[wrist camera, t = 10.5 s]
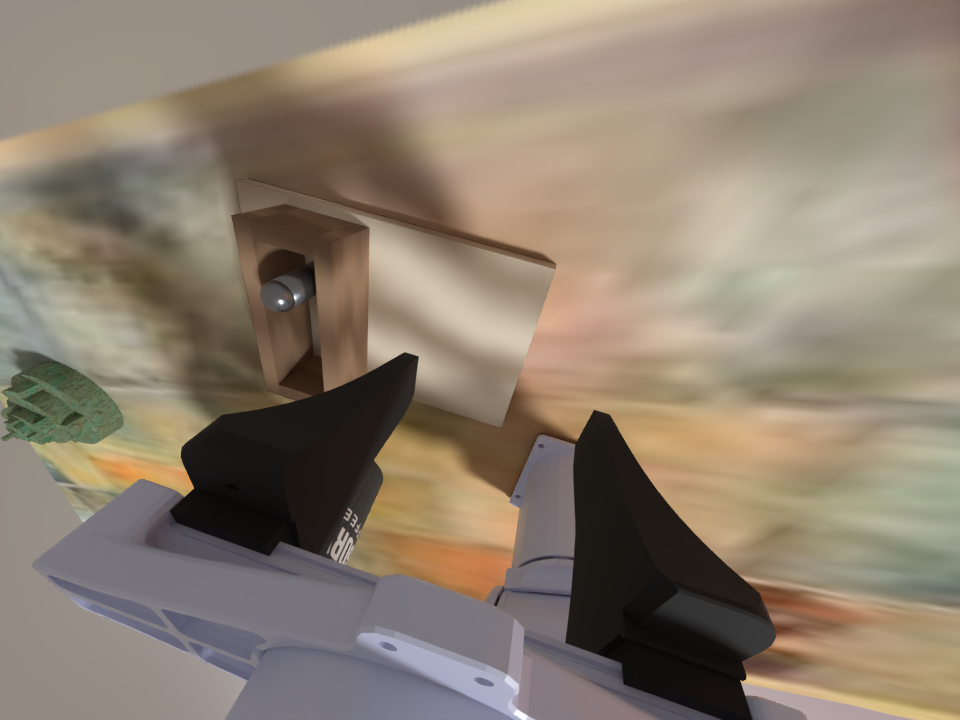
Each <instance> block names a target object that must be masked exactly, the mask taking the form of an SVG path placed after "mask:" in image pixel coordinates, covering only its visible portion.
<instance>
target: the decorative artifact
mask: <svg viewBox="0 0 960 720" xmlns="http://www.w3.org/2000/svg"><path fill="white" fill-rule="evenodd" d="M11 384H12V387H10V388H8V389H6V390H3V391H1V393H3V394H4V395H5V396H6V397H8V398H9V399H8V400H7V404H8V408H5V409H3V410H2V411H1V415H2V416H3V417H4V418H6V419H8V421H6V422H4V424H6V429H7V430H8V431H9V432H10V433H9V434H8V435H6V436H4V437H2V438H1V439H2V440H3V441H7V440H8V439H10V438H12V437H15V438H17V439H22V440H27V441H28V442H31V441H33V442H36V443H38V444H42V445H43V444H45V443H46V442H48V443H50V442H52V441H54V442H57V443H66V442H68V441H69V440H72V441H74V442H77V441H79V442H82V443H87V444H95V443H98V442H99V441H101V440H102V439H104V438H106V437H107V436H109V435H110V434H112V433H113V432H115V431H117V430H118V429H120V428H121V427H122V426H123V422H124V421H123V416H122V414H121V412H120V410H119V408H118V407H117V405H116V404H115V402H114V401H113V400H112V399H111V398H110V397H109V395H108V394H107V393H106V392H105V391H103V390H102V389H101V388H100V387H99V386H98V385H97V384H95V383H94V382H93V381H91V380H90V379H89V378H87V377H86V376H84V375H83V374H81V373H79V372H78V371H76V370H74V369H72V368H70V367H68V366H65V365H62V364H59V363H54V362H46V363H43V364H41V365H39V366H36V367H34V368H31V369H29V370H27V371H24V372H22V373H19V374H17V375H15V376H13V377H12V379H11Z"/></svg>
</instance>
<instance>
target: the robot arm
mask: <svg viewBox="0 0 960 720" xmlns="http://www.w3.org/2000/svg"><path fill="white" fill-rule="evenodd" d="M418 360H419V356H416V355H413V354H409V353H406V352H404V353H402V354H400V355H398V356H397V357H395V358H393V359H392V360H390V361H388V362H386V363H385V364H383V365H381V366H379V367H378V368H376V369H374V370H372V371H370V372H368V373H366V374H365V375H363V376H361V377H359V378H356V379H354V380H352V381H350V382H348V383H346V384H344V385H341V386H339V387H337V388H334V389H331V390H329V391H326V392H323V393H321V394H318V395H314V396H311V397H308V398H304V399H301V400H298V401H294V402H291V403H287V404H282V405H278V406H274V407H269V408H264V409H259V410H253V411H247V412H240V413H234V414H227V415H222V416H220V417H219V418H218V419H216V420H215V421H214V422H212V423H211V424H210V425H209V426H207V427H206V428H205V429H203V430H202V431H201V432H200V433H198V434H197V435H196V436H194V437H193V438H192V439H191V440H189V441H188V442H187V443H186V444H185V445H184V446H183V447H182V450H181V458H182V462H183V465H184V467H185V469H186V471H187V473H188V475H189V478H190V480H191V482H192V484H193V486H194V489H193V490H192V491H191V492H190V493H189V494H188V495H187V496H185V497H184V496H183V495H181V494H180V493H179V492H177V491H175V490H173V489H170V488H168V487H165V486H162V485H159V484H156V483H153V482H151V481H148V480H145V479H139V480H138V481H137V482H135V483H134V484H133V485H131V486H130V487H129V488H128V489H126V490H125V491H124V492H122V493H121V494H120V495H119V496H117V497H116V498H115V499H113V500H112V501H111V502H110V503H108V504H107V505H106V506H104V507H103V508H102V509H101V510H99V511H98V512H97V513H95V514H94V515H93V516H92V517H90V518H89V519H88V520H86V521H85V522H84V523H83V524H81V525H80V526H79V527H77V528H76V529H75V530H74V531H72V532H71V533H70V534H68V535H67V536H66V537H65V538H63V539H62V540H61V541H59V542H58V543H57V544H56V545H54V546H53V547H52V548H50V549H49V550H48V551H47V552H45V553H44V554H43V555H41V556H40V557H39V558H38V559H36V560H35V561H34V562H33V564H32V567H33V568H34V569H35V570H37V571H38V572H39V573H40V574H41V575H43V576H44V577H45V578H46V579H47V580H48V581H49V582H51V583H52V584H53V585H54V586H55V587H57V588H58V589H59V590H60V591H61V592H63V593H64V594H65V595H66V596H67V597H68V598H69V599H71V600H72V601H73V602H74V603H76V604H77V605H78V606H79V607H81V608H83V609H85V610H87V611H90V612H92V613H95V614H97V615H100V616H102V617H105V618H107V619H110V620H112V621H115V622H117V623H119V624H122V625H124V626H126V627H129V628H131V629H133V630H136V631H138V632H140V633H143V634H145V635H147V636H149V637H151V638H153V639H156V640H158V641H160V642H162V643H164V644H167V645H169V646H171V647H173V648H175V649H177V650H180V651H182V652H184V653H186V654H189V655H190V656H193V657H195V658H197V659H199V660H201V661H203V662H205V663H208V664H210V665H212V666H214V667H216V668H218V669H221V670H223V671H225V672H227V673H229V674H231V675H233V676H235V677H238V678H240V679H242V680H244V681H246V682H247V683H246V685H245V686H244V688H243V690H242V691H241V693H240V695H239V696H238V698H237V700H236V702H235V703H234V705H233V706H232V708H231V710H230V711H229V713H228V715H227V716H226V718H225V720H807V717H806V715H805V714H803V713H802V712H801V711H799V710H796V709H793V708H790V707H787V706H784V705H781V704H779V703H776V702H773V701H770V700H767V699H765V698H761V697H757V696H745V694H744V691H743V688H742V685H741V681H744V680H746V673H745V670H744V667H743V664H742V661H743V660H745V659H747V658H750V657H752V656H754V655H756V654H758V653H760V652H762V651H764V650H766V649H767V648H769V647H770V646H771V645H772V644H773V642H774V640H775V638H776V632H775V628H774V626H773V624H772V621H771V619H770V617H769V614H768V612H767V609H766V607H765V605H764V602H763V600H762V598H761V596H760V594H759V592H757V591H756V590H755V589H754V588H753V587H752V586H750V585H749V584H748V583H747V582H746V581H745V580H744V579H742V578H741V577H740V576H739V575H738V574H737V573H735V572H734V571H733V570H732V569H731V568H730V567H729V566H727V565H726V564H725V563H724V562H723V561H722V560H721V559H720V558H719V557H718V556H717V555H716V554H715V553H714V552H713V551H711V550H710V549H709V548H708V547H707V546H706V545H705V544H704V543H703V542H702V541H701V540H700V539H699V538H698V537H697V536H696V535H695V534H694V533H693V531H692V530H691V529H690V528H689V527H688V526H687V525H686V524H685V523H684V522H683V521H682V519H681V518H680V517H679V516H678V515H677V514H676V513H675V511H674V510H673V509H672V508H671V507H670V506H669V504H668V503H667V502H666V501H665V499H664V498H663V497H662V496H661V494H660V493H659V492H658V491H657V489H656V488H655V486H654V485H653V484H652V482H651V481H650V480H649V478H648V477H647V475H646V474H645V472H644V471H643V469H642V468H641V466H640V465H639V463H638V462H637V460H636V459H635V457H634V455H633V454H632V452H631V450H630V449H629V447H628V445H627V444H626V442H625V440H624V439H623V437H622V435H621V433H620V432H619V430H618V428H617V426H616V425H615V423H614V421H613V419H612V418H611V416H610V415H609V414H606V413H603V412H599V411H596V410H594V411H593V413H592V415H591V417H590V419H589V420H588V422H587V424H586V426H585V428H584V430H583V431H582V433H581V435H580V437H579V439H578V441H577V443H576V444H572V443H569V442H566V441H563V440H560V439H557V438H553V437H550V436H547V435H539V436H538V437H537V439H536V441H535V444H534V446H533V448H532V450H531V453H530V455H529V457H528V459H527V462H526V464H525V466H524V469H523V471H522V473H521V475H520V478H519V480H518V482H517V485H516V487H515V489H514V491H513V494H512V496H511V498H510V503H511V504H512V505H513V506H516V507H519V508H520V509H519V517H518V524H517V531H516V538H515V545H514V553H513V560H512V568H508V569H507V572H506V579H505V585H504V586H501V585H498V586H495V587H494V588H493V589H492V590H491V592H490V593H489V595H488V597H487V598H486V599H485V600H484V602H482V601H480V600H477V599H474V598H471V597H468V596H466V595H463V594H460V593H457V592H454V591H451V590H449V589H446V588H443V587H440V586H437V585H434V584H432V583H429V582H426V581H423V580H420V579H418V578H414V577H410V576H405V575H401V574H394V575H386V576H383V577H378V576H376V575H373V574H370V573H367V572H364V571H362V570H359V569H356V568H353V567H350V566H348V565H345V564H342V563H339V562H336V561H334V560H331V559H328V558H325V555H326V553H327V551H328V549H329V547H330V545H331V542H332V540H333V538H334V536H335V534H336V532H337V530H338V528H339V526H340V524H341V522H342V520H343V517H344V515H345V513H346V511H347V509H348V507H349V505H350V503H351V501H352V500H353V498H354V496H355V494H356V492H357V490H358V488H359V486H360V484H361V482H362V480H363V478H364V477H365V475H366V473H367V471H368V469H369V467H370V465H371V464H372V462H373V461H374V459H375V457H376V456H377V454H378V453H379V451H380V450H381V448H382V447H383V445H384V444H385V442H386V441H387V440H388V438H389V437H390V435H391V434H392V432H393V431H394V429H395V428H396V426H397V425H398V423H399V422H400V420H401V419H402V417H403V416H404V414H405V412H406V410H407V408H408V406H409V404H410V402H411V400H412V398H413V396H414V392H415V384H416V376H417V368H418ZM539 444H543V445H539ZM740 680H741V681H740Z"/></svg>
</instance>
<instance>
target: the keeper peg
mask: <svg viewBox="0 0 960 720" xmlns="http://www.w3.org/2000/svg"><path fill="white" fill-rule="evenodd" d="M316 295H317V292H316V279H315V266H314V261H312V262H310V263H307V264H305V265H303V266H301V267H299V268H296V269H294V270H292V271H290V272H288V273H285V274H283V275H281V276H279V277H277V278H274V279H272V280H270V281H268V282H266V283H265V284H264V285H263V286H262V288H261V291H260V298H261V301H262V303H263V304H264V306H265V307H267V308H268V309H269V310H271V311H274V312H277V313H284V312H288V311H290V310H292V309H294V308H295V307H297V306H299V305H300V304H302V303H304V302H305V301H307V300H309V299H310V298H312V297H314V296H316Z"/></svg>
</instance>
